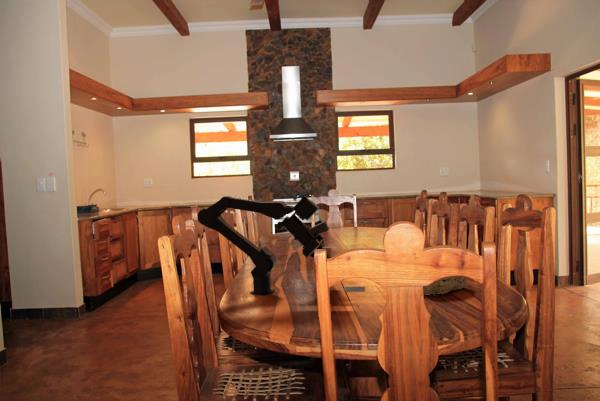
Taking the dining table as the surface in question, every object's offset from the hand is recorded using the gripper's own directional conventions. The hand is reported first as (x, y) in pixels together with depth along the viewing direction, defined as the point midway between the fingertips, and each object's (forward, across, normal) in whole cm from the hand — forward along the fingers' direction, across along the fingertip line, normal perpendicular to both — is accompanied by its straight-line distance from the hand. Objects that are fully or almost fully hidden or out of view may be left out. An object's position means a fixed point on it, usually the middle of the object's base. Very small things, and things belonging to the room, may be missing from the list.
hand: (331, 262), depth 159 cm
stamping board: (+10, 0, +5) cm, 11 cm away
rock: (+33, +4, -18) cm, 38 cm away
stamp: (+3, 0, +5) cm, 6 cm away
